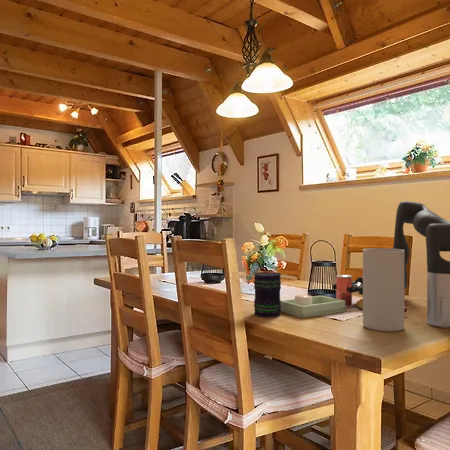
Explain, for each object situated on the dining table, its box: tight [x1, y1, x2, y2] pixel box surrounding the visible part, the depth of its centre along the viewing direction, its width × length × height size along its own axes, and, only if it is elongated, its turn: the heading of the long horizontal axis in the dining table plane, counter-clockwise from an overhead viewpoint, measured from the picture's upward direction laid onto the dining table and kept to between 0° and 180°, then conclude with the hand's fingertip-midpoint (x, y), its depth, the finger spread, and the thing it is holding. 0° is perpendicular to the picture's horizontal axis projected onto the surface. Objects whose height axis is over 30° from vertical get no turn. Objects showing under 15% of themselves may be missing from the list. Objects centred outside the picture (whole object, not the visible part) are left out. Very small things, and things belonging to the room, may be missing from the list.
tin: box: [336, 274, 353, 308], centre depth 174 cm, size 6×6×12 cm
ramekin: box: [294, 294, 313, 306], centre depth 161 cm, size 6×6×4 cm
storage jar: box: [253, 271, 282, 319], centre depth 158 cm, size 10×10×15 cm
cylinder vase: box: [362, 247, 405, 333], centre depth 139 cm, size 12×12×25 cm
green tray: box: [280, 295, 346, 319], centre depth 163 cm, size 21×13×4 cm, turn 121°
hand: (341, 288), depth 173 cm, fingers open, 8 cm apart
